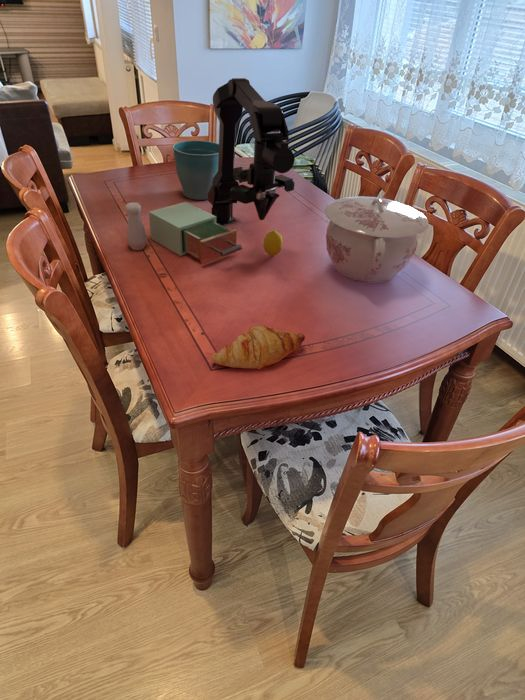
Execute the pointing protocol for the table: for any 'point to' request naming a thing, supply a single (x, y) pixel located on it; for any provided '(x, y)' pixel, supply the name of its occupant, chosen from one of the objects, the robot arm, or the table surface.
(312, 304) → the table surface
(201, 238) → the drawer
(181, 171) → the flower pot
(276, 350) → the croissant
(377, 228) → the chamber pot
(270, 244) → the lemon
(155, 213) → the pale green box
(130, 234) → the salt shaker
